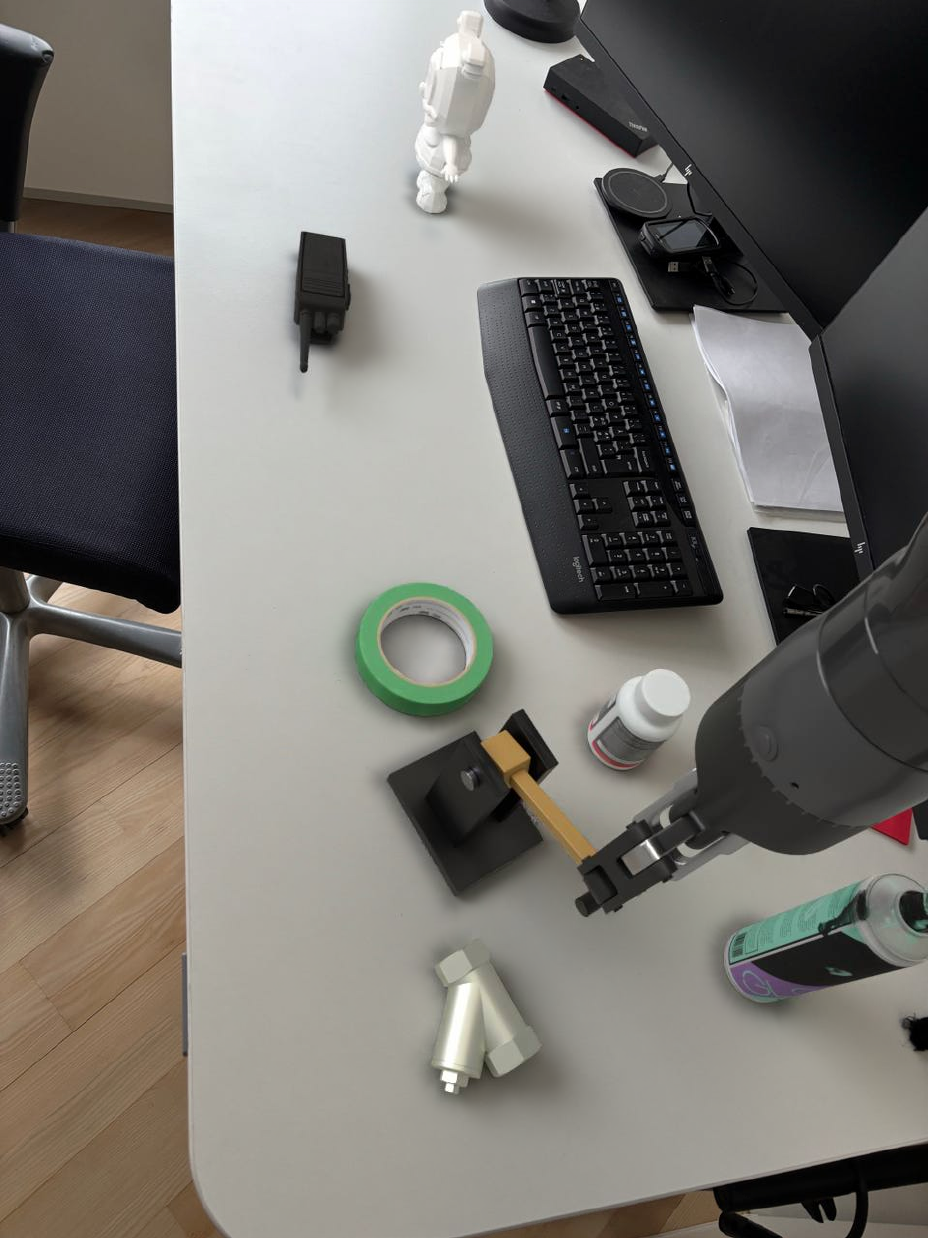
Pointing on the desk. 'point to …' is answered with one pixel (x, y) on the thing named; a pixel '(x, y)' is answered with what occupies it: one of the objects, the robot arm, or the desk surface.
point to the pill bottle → (639, 718)
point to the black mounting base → (472, 804)
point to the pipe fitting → (478, 1021)
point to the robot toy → (453, 109)
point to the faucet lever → (540, 804)
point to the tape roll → (409, 692)
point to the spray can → (832, 940)
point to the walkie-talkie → (320, 290)
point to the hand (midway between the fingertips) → (658, 847)
